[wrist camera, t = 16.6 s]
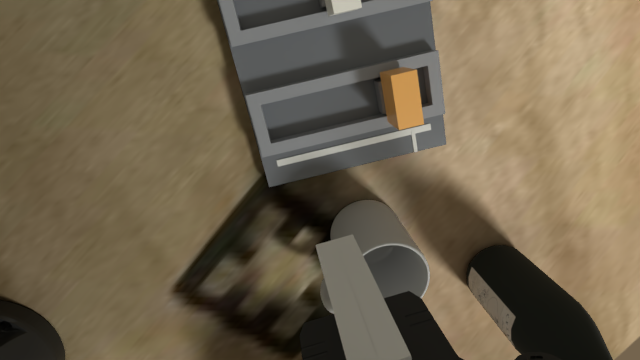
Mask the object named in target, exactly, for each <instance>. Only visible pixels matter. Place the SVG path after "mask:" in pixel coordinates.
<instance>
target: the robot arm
mask: <svg viewBox="0 0 640 360" xmlns="http://www.w3.org/2000/svg"><path fill="white" fill-rule="evenodd" d="M316 249H317V253H318V256H319V260H320V264H321V268H322V271H323V275H324V279H325V282H326V286H327V290H328V293H329V297H330V301H331V305H332V308H333V312H334V314H332V315H329V316H326V317H322V318H319V319H315V320H312V321H309V322H305V323H304V325H303V328H302V330H301V333H300V335H299V336H300V343H301V349H302V350H301V351H302V358H303V360H463V359H461V358H459V357H458V355H457V354H456V353H455V351H454V350H453V348H452V347H451V345H450V343H449V342H448V340H447V339H446V337H445V335H444V334H443V332H442V331H441V329H440V327H439V326H438V324H437V323H436V321H435V320H434V318H433V316H432V315H431V313H430V312H429V311H428V308H427V307H426V305H425V304H424V302H423V300H422V299H421V298H420V297H418V296H417V295H415V294H414V293H412V292H410V291H407V292H403V293H400V294H396V295H393V296H390V297H386V298H383V296H382V294H381V292H380V290H379V288H378V286H377V284H376V282H375V280H374V277H373V275H372V273H371V271H370V269H369V267H368V265H367V263H366V261H365V259H364V257H363V255H362V252H361V250H360V248H359V246H358V244H357V242H356V240H355V238H354V236H353V234H352V235H349V236H345V237H342V238H338V239H335V240H331V241H328V242H324V243H321V244H317V245H316ZM0 360H65V351H64V346H63V343H62V341H61V339H60V337H59V335H58V333H57V332H56V331H55V329H54V328H53V327H52V326H51V325H50V324H49V323H48V322H47V321H46V320H45V319H43V318H42V317H41V316H39V315H38V314H36V313H35V312H33V311H31V310H29V309H27V308H25V307H23V306H20V305H17V304H14V303H11V302H6V301H1V300H0ZM515 360H561V359H559V358H558V357H556V356H554V355H551V354H547V353H543V352H528V353H525V354H522V355H519V356H518V357H517V358H516V359H515Z"/></svg>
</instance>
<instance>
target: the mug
mask: <svg viewBox="0 0 640 360" xmlns="http://www.w3.org/2000/svg"><path fill="white" fill-rule="evenodd" d="M352 234H353V236H354V238H355V240H356V242H357V244H358V246H359V248H360V250H361V252H362V255H363V257H364V259H365V261H366V263H367V265H368V267H369V269H370V271H371V273H372V275H373V277H374V280H375V282H376V284H377V286H378V288H379V290H380V292H381V294H382V296H383V298H386V297H390V296H393V295H396V294H400V293H403V292H407V291H410V292H412V293H414V294H415V295H417V296H418V297H420V298H422V297H423V295H424V294H425V292H426V290H427V287H428V284H429V280H430V270H429V266H428V263H427V260H426V259H425V257H424V255H423V254H422V252H421V251H420V249H419V248H418V246H417V245H416V244H415V242H414V241H413V239H412V238H411V236H410V235H409V233H408V232H407V231H406V229H405V228H404V226H403V225H402V223H401V222H400V220H399V219H398V217H397V215H396V214H395V213H394V212H393V210H392V209H391V208H389V207H388V206H387V205H385V204H383V203H381V202H378V201H375V200H361V201H357V202H354V203H351V204H349V205H348V206H346V207H345V208H343V209H342V210H341V211H340V212H339V213H338V215H337V216H336V218H335V219H334V221H333V224H332V227H331V240H335V239H338V238H342V237H345V236H349V235H352ZM321 299H322V302H323V304H324V306H325V308H326V309H327V310H328V311H329V312H331V313H334V312H333V308H332V305H331V301H330V297H329V293H328V290H327V286H326V282H325V279H324V278H323V280H322V283H321Z"/></svg>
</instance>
